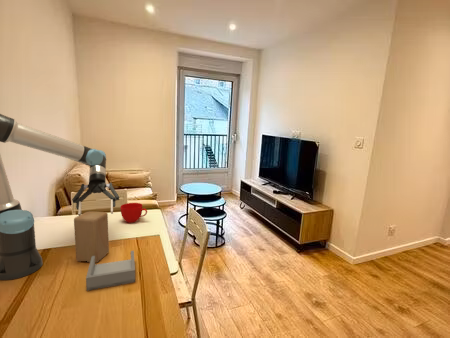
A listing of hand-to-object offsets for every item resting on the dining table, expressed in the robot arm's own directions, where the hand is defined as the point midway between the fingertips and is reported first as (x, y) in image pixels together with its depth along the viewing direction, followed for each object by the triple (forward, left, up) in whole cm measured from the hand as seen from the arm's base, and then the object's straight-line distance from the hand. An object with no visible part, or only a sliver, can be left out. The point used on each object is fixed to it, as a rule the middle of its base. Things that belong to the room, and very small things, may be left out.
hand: (96, 214), depth 117 cm
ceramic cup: (+26, +28, -18) cm, 42 cm away
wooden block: (-3, -7, -18) cm, 19 cm away
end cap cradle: (+1, -26, -18) cm, 31 cm away
